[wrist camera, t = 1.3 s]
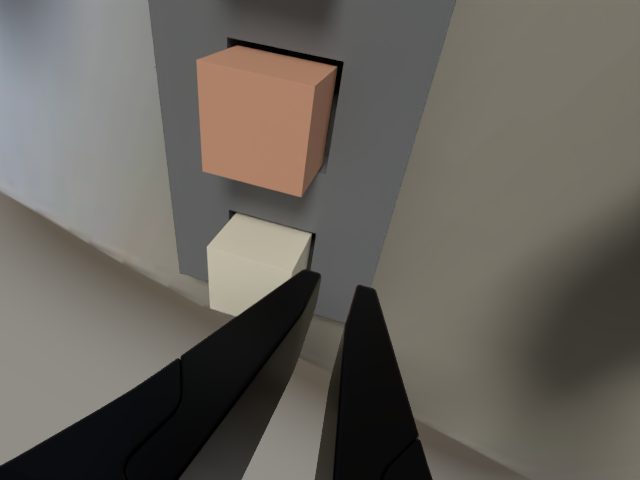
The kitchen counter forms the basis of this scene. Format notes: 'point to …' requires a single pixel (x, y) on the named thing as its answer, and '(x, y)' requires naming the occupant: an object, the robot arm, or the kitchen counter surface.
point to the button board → (348, 132)
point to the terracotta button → (264, 117)
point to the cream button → (253, 261)
